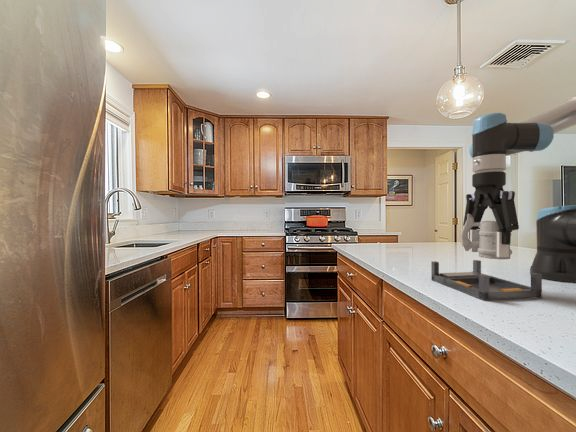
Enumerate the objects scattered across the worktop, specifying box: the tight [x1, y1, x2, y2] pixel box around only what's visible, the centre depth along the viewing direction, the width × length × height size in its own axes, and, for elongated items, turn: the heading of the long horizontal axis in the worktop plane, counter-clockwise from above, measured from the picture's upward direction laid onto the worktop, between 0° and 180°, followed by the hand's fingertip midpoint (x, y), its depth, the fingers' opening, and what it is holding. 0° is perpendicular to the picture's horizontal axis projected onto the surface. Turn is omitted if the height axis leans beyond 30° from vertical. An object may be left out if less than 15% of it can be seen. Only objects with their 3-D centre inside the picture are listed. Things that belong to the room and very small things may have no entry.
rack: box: [430, 259, 543, 302], centre depth 80 cm, size 16×21×6 cm
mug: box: [460, 214, 513, 260], centre depth 78 cm, size 8×12×12 cm, turn 53°
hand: (488, 254), depth 77 cm, fingers closed on mug, 9 cm apart
